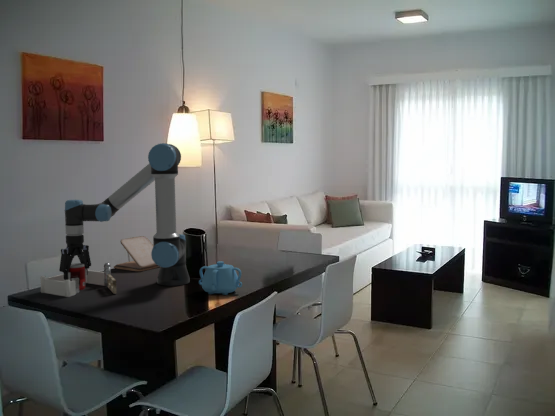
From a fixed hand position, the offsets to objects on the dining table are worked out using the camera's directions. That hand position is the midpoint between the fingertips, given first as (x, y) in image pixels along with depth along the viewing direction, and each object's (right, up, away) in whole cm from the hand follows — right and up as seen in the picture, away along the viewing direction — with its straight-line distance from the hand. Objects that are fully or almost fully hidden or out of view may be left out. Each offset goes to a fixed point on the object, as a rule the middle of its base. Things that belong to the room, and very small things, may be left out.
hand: (76, 284), depth 247 cm
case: (+16, +2, +51) cm, 53 cm away
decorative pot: (+65, -3, -5) cm, 65 cm away
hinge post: (+12, -1, +6) cm, 14 cm away
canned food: (0, -2, 0) cm, 2 cm away
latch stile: (+2, -2, -7) cm, 8 cm away
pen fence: (0, -2, 0) cm, 2 cm away
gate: (+17, -2, -3) cm, 17 cm away
